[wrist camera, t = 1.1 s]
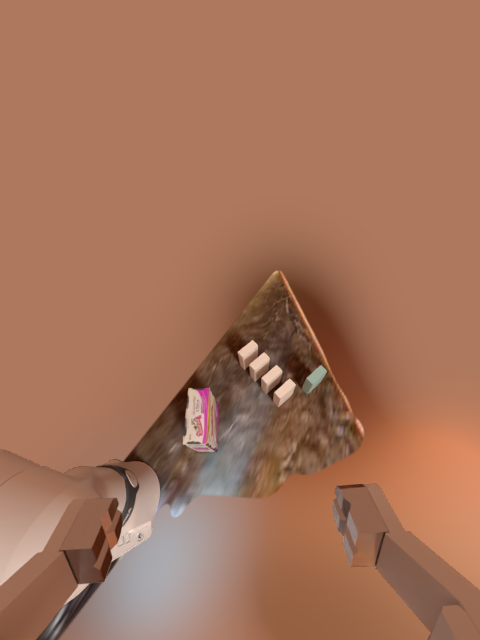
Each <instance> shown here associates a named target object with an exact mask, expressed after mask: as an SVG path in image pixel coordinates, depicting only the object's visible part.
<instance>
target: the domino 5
mask: <svg viewBox="0 0 480 640" xmlns="http://www.w3.org/2000/svg"><path fill="white" fill-rule="evenodd" d="M326 372H327V371H326V370H325V369H324V368H323V367H322V366H321V365H320V366H319V367H318V368H317V369H316V370H315V371H314V372H313V373H312V374H310V375H309V376H308V377H307V378H306V380H305V382H304V384H303V386H302V390H303V391H304V392H305V393H306V394H308V393H309V392H310V391H311V390H313V389H314V388H315V387H316V386H317V385H318V384H319V383H320V382H321V380H322V379H323V377H324V375H325V374H326Z"/></svg>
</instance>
